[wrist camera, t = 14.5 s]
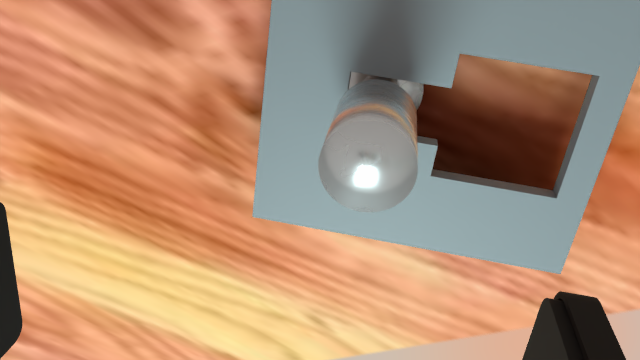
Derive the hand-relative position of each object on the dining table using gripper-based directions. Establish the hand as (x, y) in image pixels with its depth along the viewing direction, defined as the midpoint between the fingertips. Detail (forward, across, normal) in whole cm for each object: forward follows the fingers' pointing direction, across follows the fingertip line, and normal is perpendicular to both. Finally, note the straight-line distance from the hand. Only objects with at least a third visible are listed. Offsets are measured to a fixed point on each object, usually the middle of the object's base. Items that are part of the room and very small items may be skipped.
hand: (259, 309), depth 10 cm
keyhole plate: (+27, -4, +3) cm, 27 cm away
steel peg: (+27, -1, +3) cm, 27 cm away
